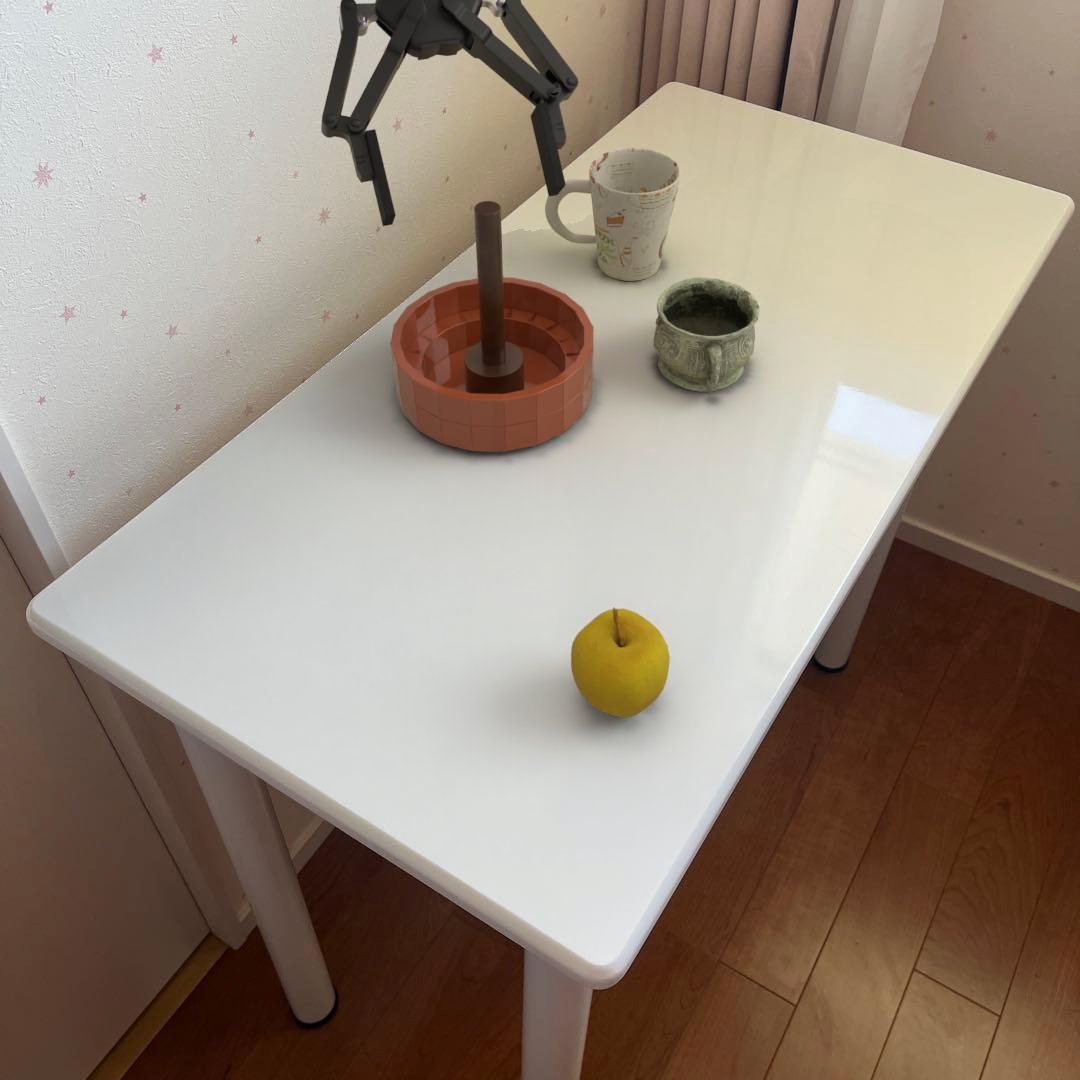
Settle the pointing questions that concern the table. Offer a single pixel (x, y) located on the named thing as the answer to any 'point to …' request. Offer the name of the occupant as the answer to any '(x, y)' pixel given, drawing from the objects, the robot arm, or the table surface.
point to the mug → (625, 210)
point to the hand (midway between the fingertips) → (474, 206)
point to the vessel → (704, 333)
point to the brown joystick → (491, 314)
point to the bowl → (454, 326)
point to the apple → (620, 662)
